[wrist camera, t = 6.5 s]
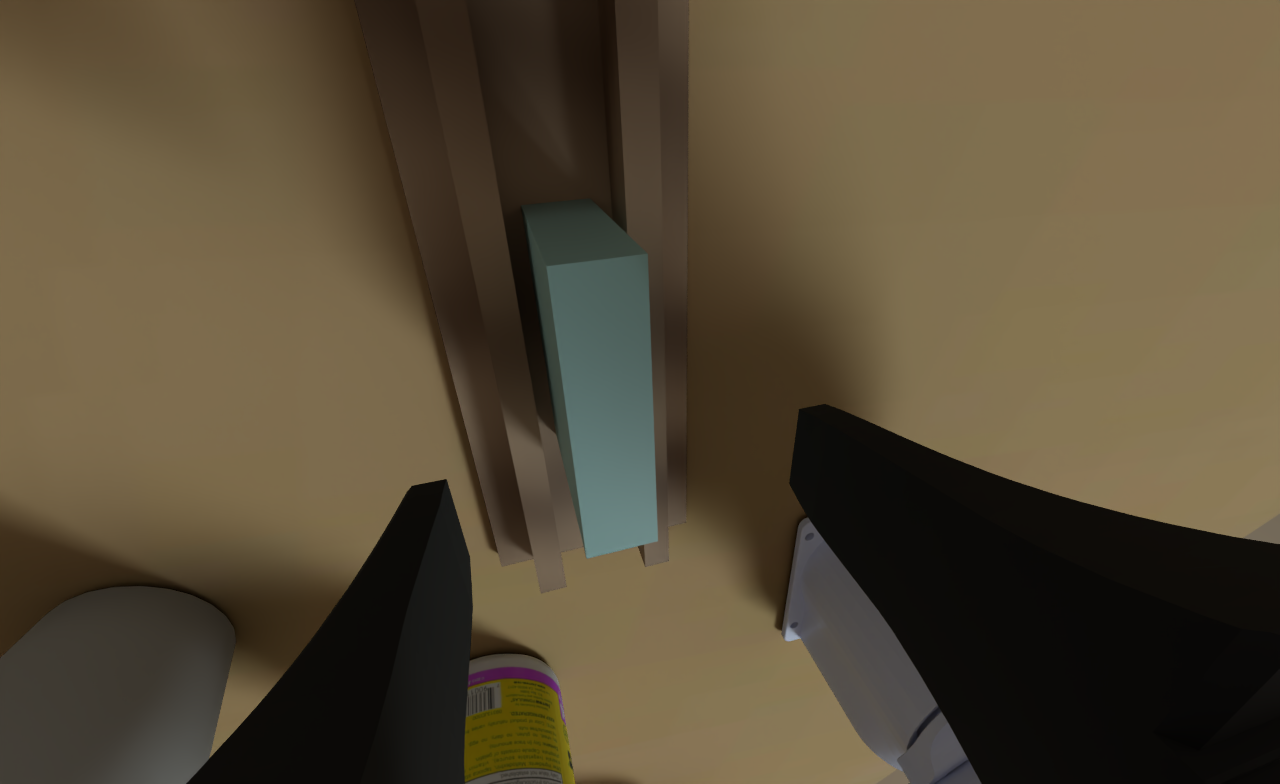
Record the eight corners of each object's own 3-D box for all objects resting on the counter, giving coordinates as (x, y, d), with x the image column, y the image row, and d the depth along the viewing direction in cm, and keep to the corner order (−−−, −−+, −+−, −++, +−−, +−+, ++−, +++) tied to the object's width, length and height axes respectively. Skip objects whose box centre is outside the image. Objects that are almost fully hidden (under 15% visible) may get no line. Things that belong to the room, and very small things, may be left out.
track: (681, 513, 24) (750, 652, 18) (501, 555, 22) (512, 725, 16) (680, -132, 13) (857, -310, 7) (321, -144, 11) (156, -396, 5)
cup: (304, 658, 22) (225, 932, 15) (32, 746, 20) (-199, 1099, 13) (195, 533, 18) (15, 829, 11) (-154, 631, 16) (-632, 1051, 9)
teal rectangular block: (610, 423, 19) (658, 541, 15) (556, 434, 19) (586, 558, 14) (589, 198, 15) (648, 254, 10) (520, 205, 15) (546, 266, 10)
